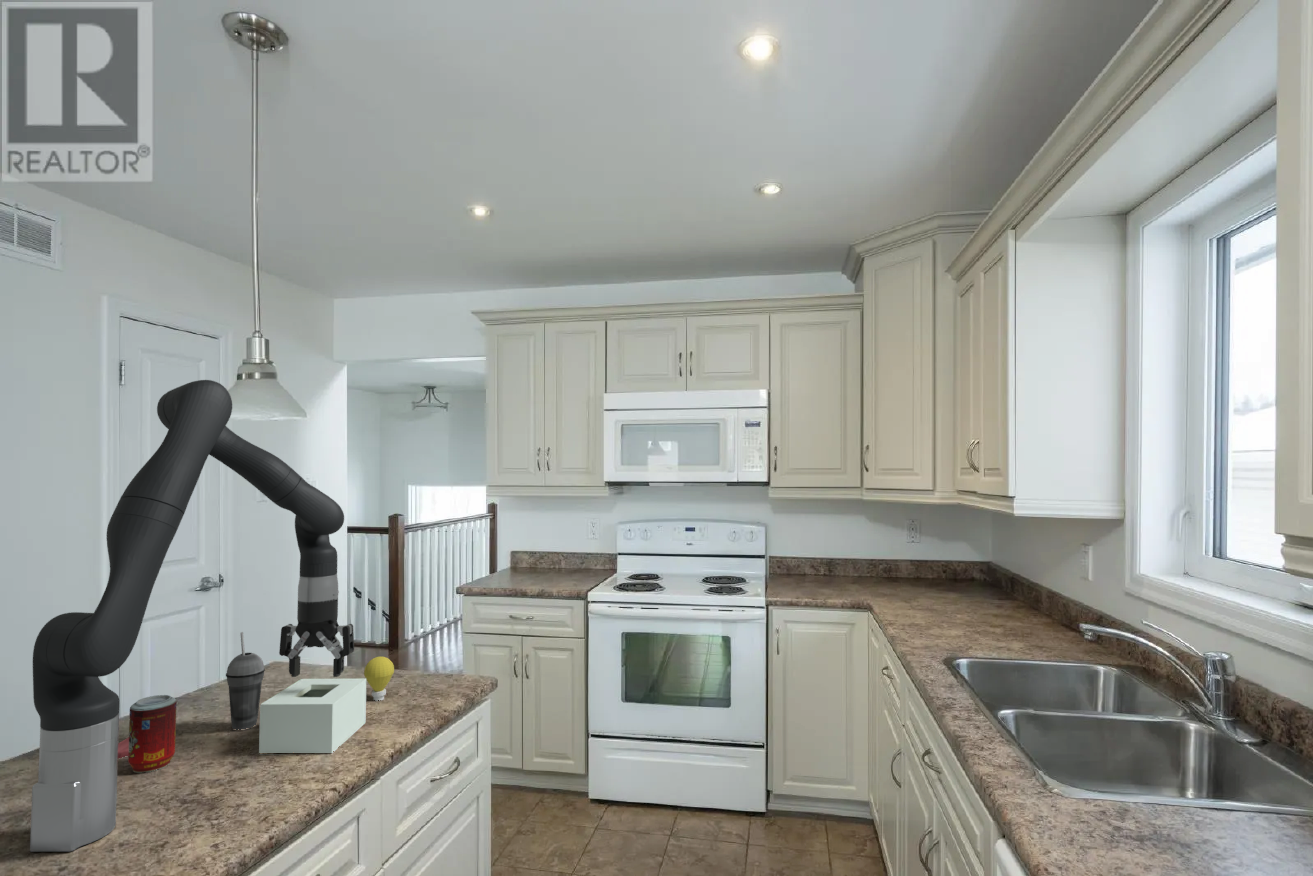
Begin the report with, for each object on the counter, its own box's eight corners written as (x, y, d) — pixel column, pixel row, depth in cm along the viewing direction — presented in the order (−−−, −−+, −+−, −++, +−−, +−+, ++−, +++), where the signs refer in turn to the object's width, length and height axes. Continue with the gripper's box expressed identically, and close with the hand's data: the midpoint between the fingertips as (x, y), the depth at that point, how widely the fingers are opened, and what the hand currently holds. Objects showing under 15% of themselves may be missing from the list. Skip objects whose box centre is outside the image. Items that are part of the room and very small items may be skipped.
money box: (331, 753, 133) (332, 704, 133) (259, 754, 132) (260, 704, 133) (365, 722, 149) (366, 678, 149) (300, 723, 148) (301, 678, 149)
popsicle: (177, 722, 145) (128, 752, 130) (177, 730, 145) (127, 760, 130) (151, 723, 145) (98, 753, 130) (151, 731, 145) (98, 761, 130)
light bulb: (363, 697, 165) (363, 655, 166) (392, 693, 168) (393, 652, 168) (363, 705, 159) (364, 662, 159) (394, 701, 162) (395, 659, 162)
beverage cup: (245, 734, 142) (247, 637, 143) (215, 732, 143) (218, 635, 144) (271, 722, 149) (273, 629, 150) (243, 719, 151) (245, 627, 151)
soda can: (122, 767, 127) (125, 700, 127) (168, 755, 132) (170, 690, 133) (133, 778, 122) (136, 708, 123) (180, 765, 128) (182, 698, 128)
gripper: (273, 600, 138) (271, 682, 137) (344, 600, 138) (343, 681, 137) (292, 593, 145) (291, 670, 145) (360, 593, 146) (358, 670, 145)
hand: (316, 676), depth 141 cm, fingers open, 8 cm apart
